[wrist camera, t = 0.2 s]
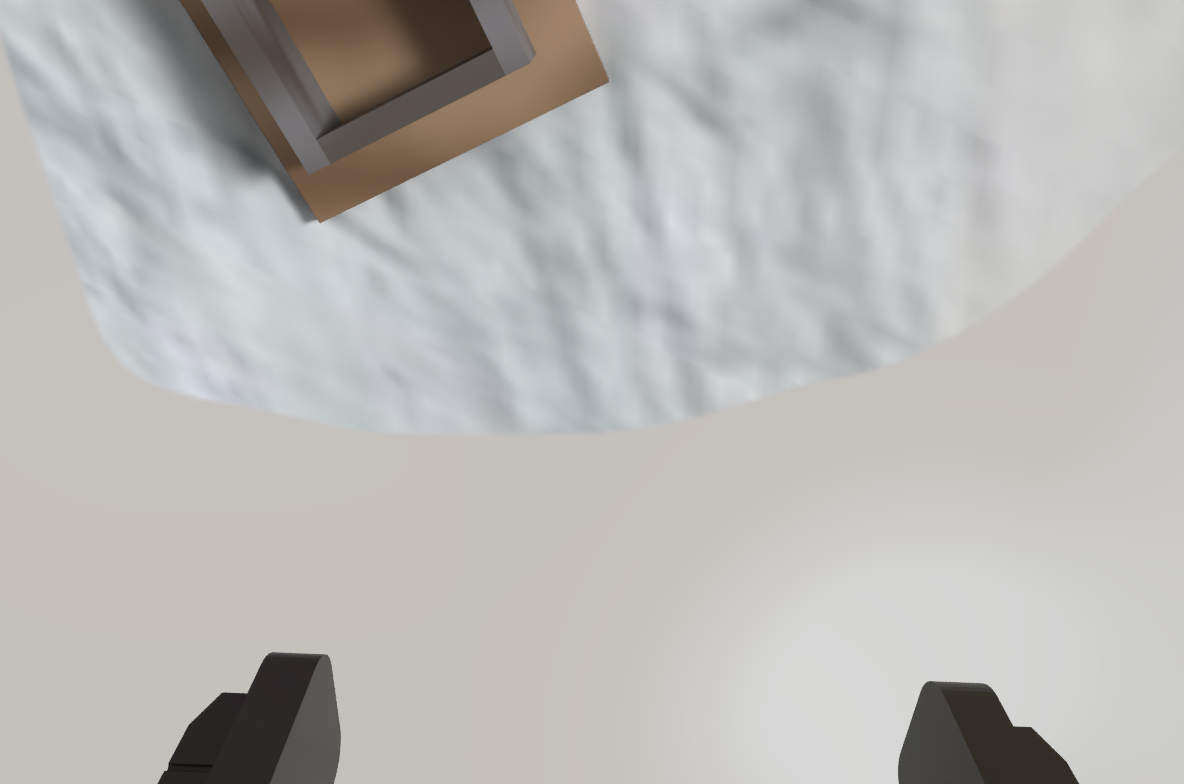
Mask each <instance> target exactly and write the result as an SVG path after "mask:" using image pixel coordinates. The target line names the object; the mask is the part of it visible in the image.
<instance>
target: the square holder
mask: <svg viewBox="0 0 1184 784" xmlns="http://www.w3.org/2000/svg"><path fill="white" fill-rule="evenodd" d="M180 1H181V3H182V5H183V6H184V8H185V9H186V11H187V13H188V14H189V16H190V17H191V19H192V21H193V22H194V24H195V25H196V27H197V29H198V30H199V32H200V33H201V35H202V37H203V38H204V40H205V41H206V43H207V44H208V46H209V48H210V49H211V51H212V52H213V54H214V56H215V57H216V59H217V60H218V62H219V64H220V65H221V67H222V68H223V70H224V72H225V73H226V75H227V76H228V78H229V80H230V81H231V83H232V84H233V86H234V88H235V89H236V91H237V92H238V94H239V95H240V97H241V99H242V100H243V102H244V103H245V105H246V107H247V108H248V110H249V111H250V113H251V115H252V116H253V118H254V119H255V121H256V123H257V124H258V126H259V127H260V129H261V131H262V132H263V134H264V135H265V137H266V139H267V140H268V142H269V143H270V145H271V146H272V148H273V150H274V151H275V153H276V154H277V156H278V158H279V159H280V161H281V162H282V164H283V166H284V167H285V169H286V170H287V172H288V174H289V175H290V177H291V178H292V180H293V182H294V183H295V185H296V186H297V188H298V190H299V191H300V193H301V194H302V196H303V197H304V199H305V201H306V202H307V204H308V205H309V207H310V209H311V210H312V212H313V213H314V215H315V217H316V218H317V220H318V221H319V223H321V222H323V221H326V220H328V219H330V218H332V217H334V216H336V215H338V214H340V213H342V212H344V211H346V210H348V209H350V208H352V207H354V206H356V205H358V204H360V203H362V202H364V201H366V200H369V199H371V198H373V197H375V196H377V195H379V194H381V193H383V192H385V191H387V190H389V189H391V188H393V187H395V186H397V185H399V184H401V183H403V182H405V181H407V180H409V179H411V178H414V177H416V176H418V175H420V174H422V173H424V172H426V171H428V170H430V169H432V168H434V167H436V166H438V165H440V164H442V163H444V162H446V161H448V160H450V159H452V158H454V157H457V156H459V155H461V154H463V153H465V152H467V151H469V150H471V149H473V148H475V147H477V146H479V145H481V144H483V143H485V142H487V141H489V140H491V139H493V138H495V137H497V136H500V135H502V134H504V133H506V132H508V131H510V130H512V129H514V128H516V127H518V126H520V125H522V124H524V123H526V122H528V121H530V120H532V119H534V118H536V117H538V116H540V115H542V114H545V113H547V112H549V111H551V110H553V109H555V108H557V107H559V106H561V105H563V104H565V103H567V102H569V101H571V100H573V99H575V98H577V97H579V96H581V95H583V94H585V93H588V92H590V91H592V90H594V89H596V88H598V87H600V86H602V85H604V84H606V83H608V82H609V78H608V76H607V74H606V71H605V69H604V67H603V64H602V62H601V60H600V57H599V55H598V53H597V50H596V48H595V46H594V43H593V41H592V39H591V36H590V34H589V32H588V29H587V27H586V25H585V22H584V20H583V18H582V15H581V13H580V11H579V8H578V6H577V4H576V1H575V0H180Z"/></svg>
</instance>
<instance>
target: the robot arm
mask: <svg viewBox="0 0 1184 784" xmlns="http://www.w3.org/2000/svg"><path fill="white" fill-rule="evenodd" d="M340 742H341V735H340V724H339V717H338V709H337V702H336V695H335V688H334V681H333V673H332V666H331V661H330V658H329V657H328V655H324V654H297V653H275V652H272V653H269V654H268V655H267V656H266V657H265V659H264V660H263V662H262V664H261V666H260V668H259V670H258V672H257V674H256V676H255V679H254V681H253V683H252V685H251V687H250V689H249V691H248V693H247V694H245V693H221V694H220V696H218V697H217V698H216V699H215V700H214V701H213V702H212V703H211V704H210V705H209V706H208V707H207V708H206V709H205V710H204V711H203V712H202V713H201V714H200V715H199V716H198V717H197V718H196V719H194V721H193V722H192V723H190V724H189V726H188V728H187V729H186V731H185V733H184V735H183V737H182V739H181V741H180V743H179V745H178V746H177V748H176V750H175V752H174V754H173V756H172V758H171V760H170V761H169V766H168V770H167V771H164V773H163V775H162V776H161V779H160V780H159V782H158V784H334V780H335V777H336V772H337V768H338V762H339V755H340ZM898 779H899V784H1079V783H1078V782H1077V779H1076V778H1075V776H1074V774H1073V773H1072V771H1071V769H1070V767H1069V766H1068V764H1067V762H1066V761H1065V760H1064V759H1063V758H1062V757H1061V756H1060V755H1059V754H1058V753H1057V752H1056V751H1055V750H1054V749H1053V748H1052V747H1051V746H1050V745H1049V744H1048V743H1047V742H1045V740H1044V739H1043V738H1042V737H1041V736H1040V735H1039V734H1037V732H1035V731H1034V730H1033V729H1032V728H1031V727H1013V725H1012V723H1011V722H1010V720H1009V718H1008V716H1007V714H1006V712H1005V710H1004V708H1003V706H1002V705H1001V703H1000V701H999V699H998V697H997V695H996V694H995V692H994V691H993V690H992V689H991V688H990V687H989V686H988V685H986V684H981V683H959V682H935V681H929V682H927V683H925V685H924V686H923V688H922V690H921V692H920V695H919V699H918V702H917V705H916V708H915V711H914V714H913V717H912V720H911V723H910V726H909V729H908V732H907V735H906V738H905V741H904V744H903V747H902V750H901V754H900V758H899V766H898Z"/></svg>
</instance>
